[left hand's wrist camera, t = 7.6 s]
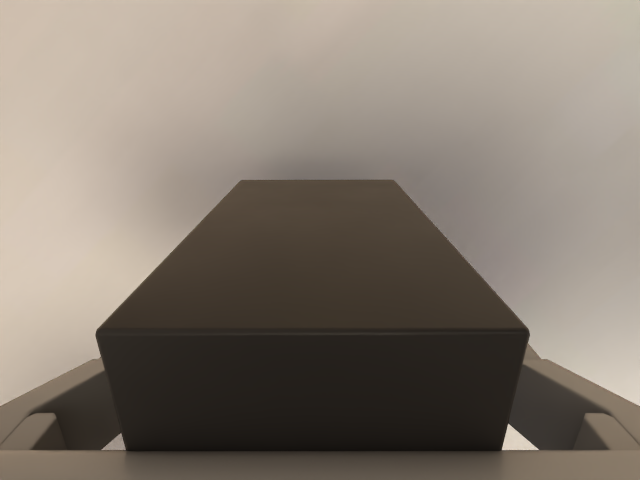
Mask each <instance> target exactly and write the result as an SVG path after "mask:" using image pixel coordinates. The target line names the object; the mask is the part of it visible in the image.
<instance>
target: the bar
mask: <svg viewBox="0 0 640 480" xmlns="http://www.w3.org/2000/svg"><path fill="white" fill-rule="evenodd" d="M529 336H530V333H529V329H528V328H527V327H526V326H525V325H524V324H523V322H522V321H521V320H520V319H519V318H518V317H517V316H516V315H515V314H514V312H513V311H512V310H511V309H510V308H509V307H508V306H507V305H506V304H505V303H504V301H503V300H502V299H501V298H500V297H499V296H498V295H497V294H496V293H495V291H494V290H493V289H492V288H491V287H490V286H489V285H488V284H487V283H486V282H485V280H484V279H483V278H482V277H481V276H480V275H479V274H478V273H477V272H476V270H475V269H474V268H473V267H472V266H471V265H470V264H469V263H468V262H467V261H466V259H465V258H464V257H463V256H462V255H461V254H460V253H459V252H458V251H457V249H456V248H455V247H454V246H453V245H452V244H451V243H450V242H449V241H448V240H447V238H446V237H445V236H444V235H443V234H442V233H441V232H440V231H439V230H438V228H437V227H436V226H435V225H434V224H433V223H432V222H431V221H430V220H429V219H428V217H427V216H426V215H425V214H424V213H423V212H422V211H421V210H420V209H419V207H418V206H417V205H416V204H415V203H414V202H413V201H412V200H411V199H410V198H409V196H408V195H407V194H406V193H405V192H404V191H403V190H402V189H401V188H400V186H399V185H398V184H397V183H396V182H395V181H394V180H241V181H240V182H239V183H238V184H237V185H236V186H235V187H234V188H233V189H232V190H231V191H230V192H229V193H228V194H227V195H226V196H225V197H224V198H223V199H222V200H221V202H220V203H219V204H218V205H217V206H216V207H215V208H214V209H213V210H212V211H211V212H210V213H209V214H208V215H207V216H206V217H205V218H204V219H203V220H202V221H201V222H200V223H199V224H198V225H197V226H196V227H195V228H194V230H193V231H192V232H191V233H190V234H189V235H188V236H187V237H186V238H185V239H184V240H183V241H182V242H181V243H180V244H179V245H178V246H177V247H176V248H175V249H174V250H173V251H172V252H171V253H170V254H169V255H168V256H167V258H166V259H165V260H164V261H163V262H162V263H161V264H160V265H159V266H158V267H157V268H156V269H155V270H154V271H153V272H152V273H151V274H150V275H149V276H148V277H147V278H146V279H145V280H144V281H143V282H142V283H141V284H140V286H139V287H138V288H137V289H136V290H135V291H134V292H133V293H132V294H131V295H130V296H129V297H128V298H127V299H126V300H125V301H124V302H123V303H122V304H121V305H120V306H119V307H118V308H117V309H116V310H115V311H114V312H113V314H112V315H111V316H110V317H109V318H108V319H107V320H106V321H105V322H104V323H103V324H102V325H101V326H100V327H99V328H98V329H97V331H96V339H97V343H98V347H99V351H100V354H101V358H102V362H103V366H104V369H105V373H106V377H107V381H108V384H109V388H110V392H111V395H112V399H113V403H114V407H115V410H116V414H117V418H118V422H119V425H120V429H121V433H122V437H123V440H124V444H125V448H126V451H501V450H502V446H503V442H504V438H505V434H506V430H507V426H508V422H509V418H510V413H511V409H512V405H513V401H514V397H515V393H516V389H517V385H518V381H519V377H520V373H521V369H522V364H523V360H524V356H525V352H526V348H527V344H528V340H529Z"/></svg>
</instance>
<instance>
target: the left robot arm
mask: <svg viewBox="0 0 640 480" xmlns="http://www.w3.org/2000/svg"><path fill="white" fill-rule="evenodd" d="M508 423H509V424H510V425H511V426H512V427H513V428H514V429H516V430H517V431H518V432H519V433H520V434H521V435H523V436H524V437H525V438H526V439H527V440H528V441H530V442H531V443H532V444H533V445H534V446H535V447H537V448H538V449H539V450H501V451H126V450H101V449H102V448H104V447H105V446H106V445H107V444H108V443H109V442H111V441H112V440H113V439H114V438H115V437H116V436H118V435H119V434H120V433H121V429H120V425H119V422H118V418H117V414H116V410H115V407H114V403H113V399H112V395H111V392H110V388H109V384H108V381H107V377H106V373H105V369H104V366H103V362H102V358H101V357H100V358H99V359H93V360H91V361H89V362H87V363H85V364H83V365H81V366H79V367H77V368H75V369H73V370H71V371H69V372H67V373H65V374H63V375H61V376H59V377H57V378H55V379H53V380H51V381H49V382H47V383H45V384H43V385H41V386H39V387H37V388H35V389H33V390H31V391H29V392H27V393H25V394H24V395H22V396H20V397H18V398H16V399H14V400H12V401H10V402H8V403H6V404H4V405H2V406H0V480H640V406H638V405H636V404H634V403H632V402H630V401H628V400H626V399H624V398H622V397H620V396H618V395H616V394H614V393H612V392H610V391H608V390H607V389H605V388H603V387H601V386H599V385H597V384H595V383H593V382H591V381H589V380H587V379H585V378H583V377H581V376H579V375H577V374H575V373H573V372H571V371H569V370H567V369H565V368H563V367H561V366H559V365H557V364H555V363H553V362H551V361H549V360H547V359H541V358H540V357H539V356H538V355H537V353H536V352H535V351H534V350H533V349H532V348H531V346H530V345H529V344H527V348H526V352H525V356H524V360H523V364H522V369H521V373H520V377H519V381H518V385H517V389H516V393H515V397H514V401H513V405H512V409H511V413H510V418H509V422H508Z"/></svg>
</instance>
